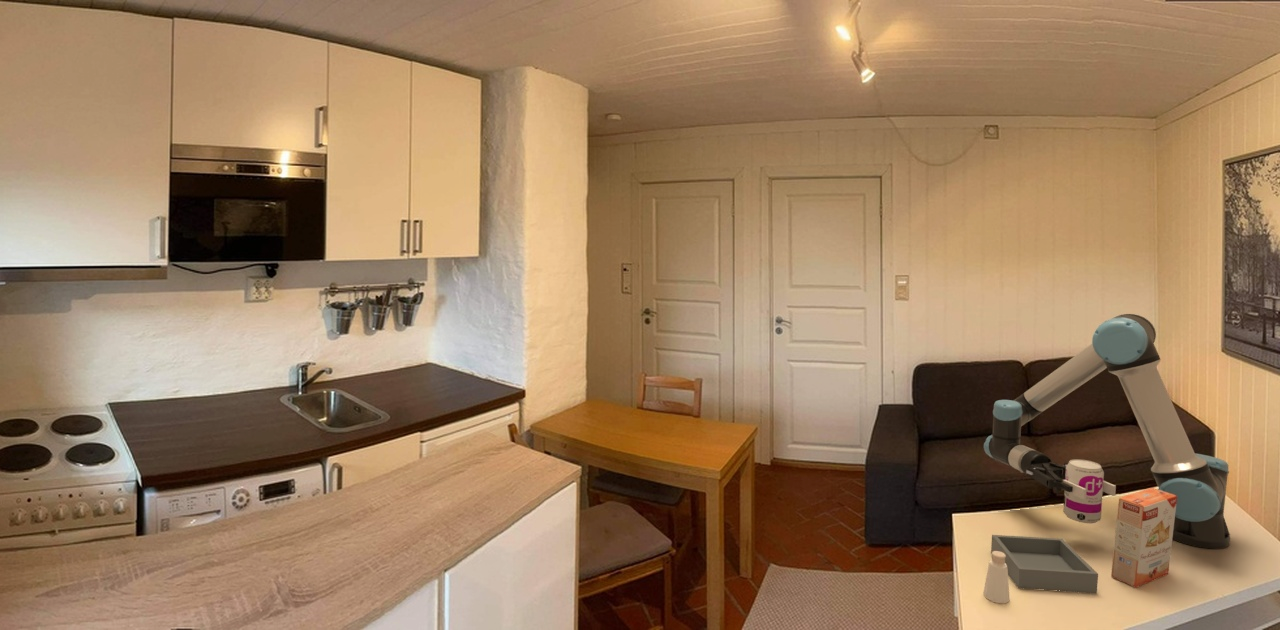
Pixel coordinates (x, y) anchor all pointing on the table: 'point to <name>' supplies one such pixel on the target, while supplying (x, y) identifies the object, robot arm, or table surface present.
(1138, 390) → the robot arm
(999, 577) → the pepper shaker
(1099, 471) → the supplement can
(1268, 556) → the table surface
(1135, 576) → the cracker box
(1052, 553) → the grey square tray
